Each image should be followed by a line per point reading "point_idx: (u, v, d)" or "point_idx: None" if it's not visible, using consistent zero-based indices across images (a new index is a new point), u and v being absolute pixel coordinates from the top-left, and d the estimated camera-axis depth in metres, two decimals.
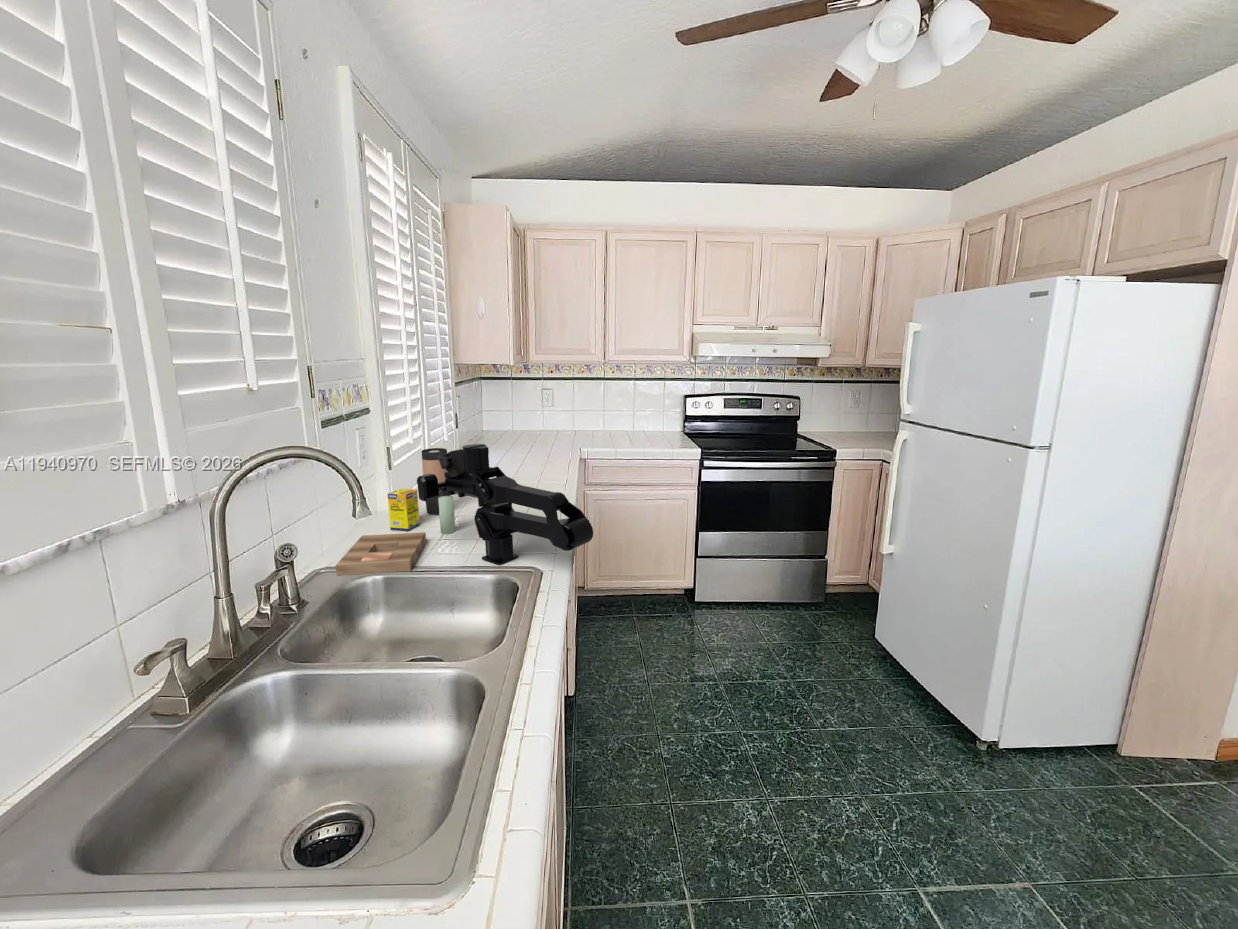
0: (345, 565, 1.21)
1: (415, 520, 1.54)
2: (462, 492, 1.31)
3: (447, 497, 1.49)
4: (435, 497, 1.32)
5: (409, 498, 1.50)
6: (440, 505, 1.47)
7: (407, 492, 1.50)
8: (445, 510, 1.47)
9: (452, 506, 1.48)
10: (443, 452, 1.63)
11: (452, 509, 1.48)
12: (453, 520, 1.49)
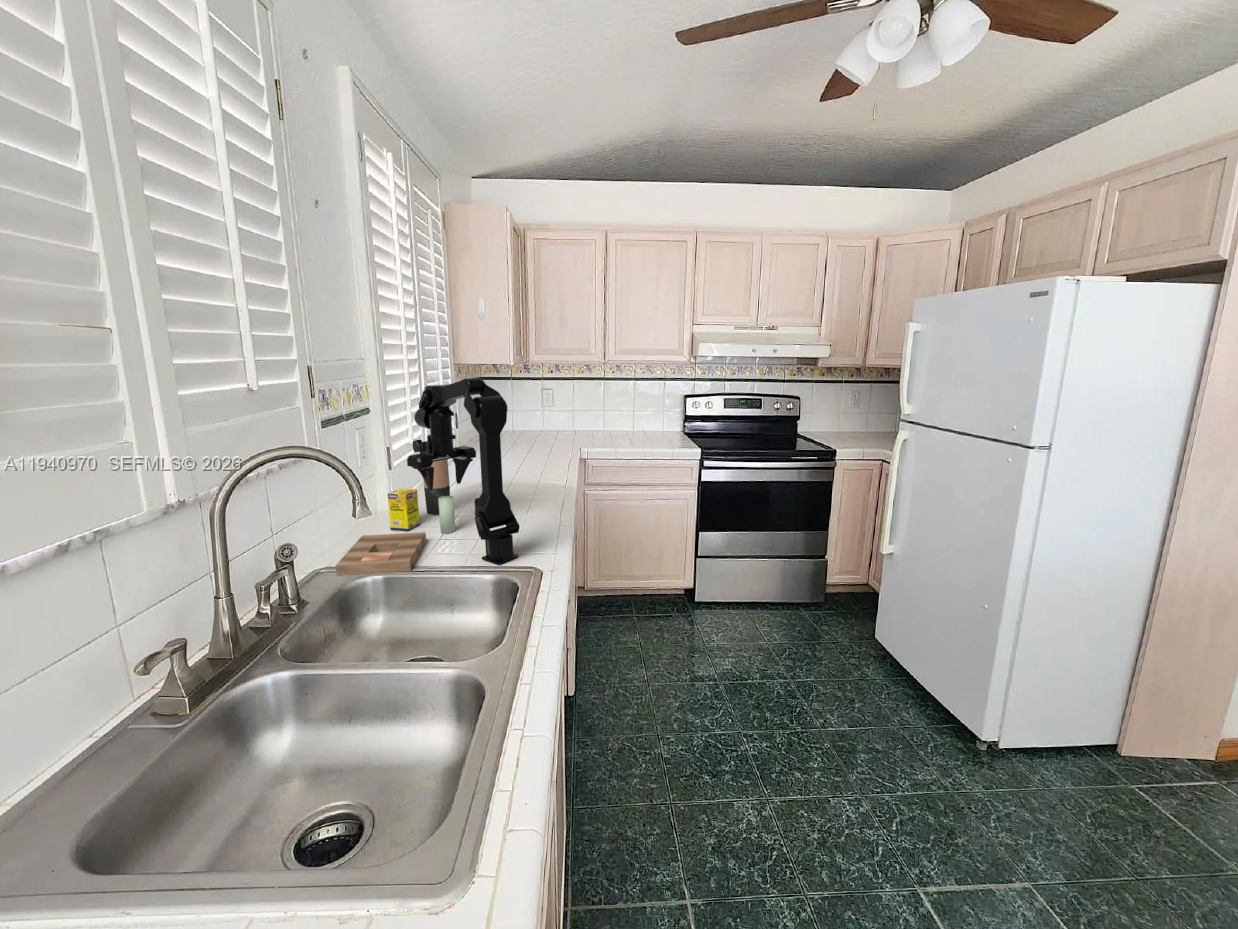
0: (345, 565, 1.21)
1: (415, 520, 1.54)
2: (436, 433, 1.41)
3: (447, 497, 1.49)
4: (428, 457, 1.39)
5: (409, 498, 1.50)
6: (440, 505, 1.47)
7: (407, 492, 1.50)
8: (445, 510, 1.47)
9: (452, 506, 1.48)
10: None
11: (452, 509, 1.48)
12: (453, 520, 1.49)
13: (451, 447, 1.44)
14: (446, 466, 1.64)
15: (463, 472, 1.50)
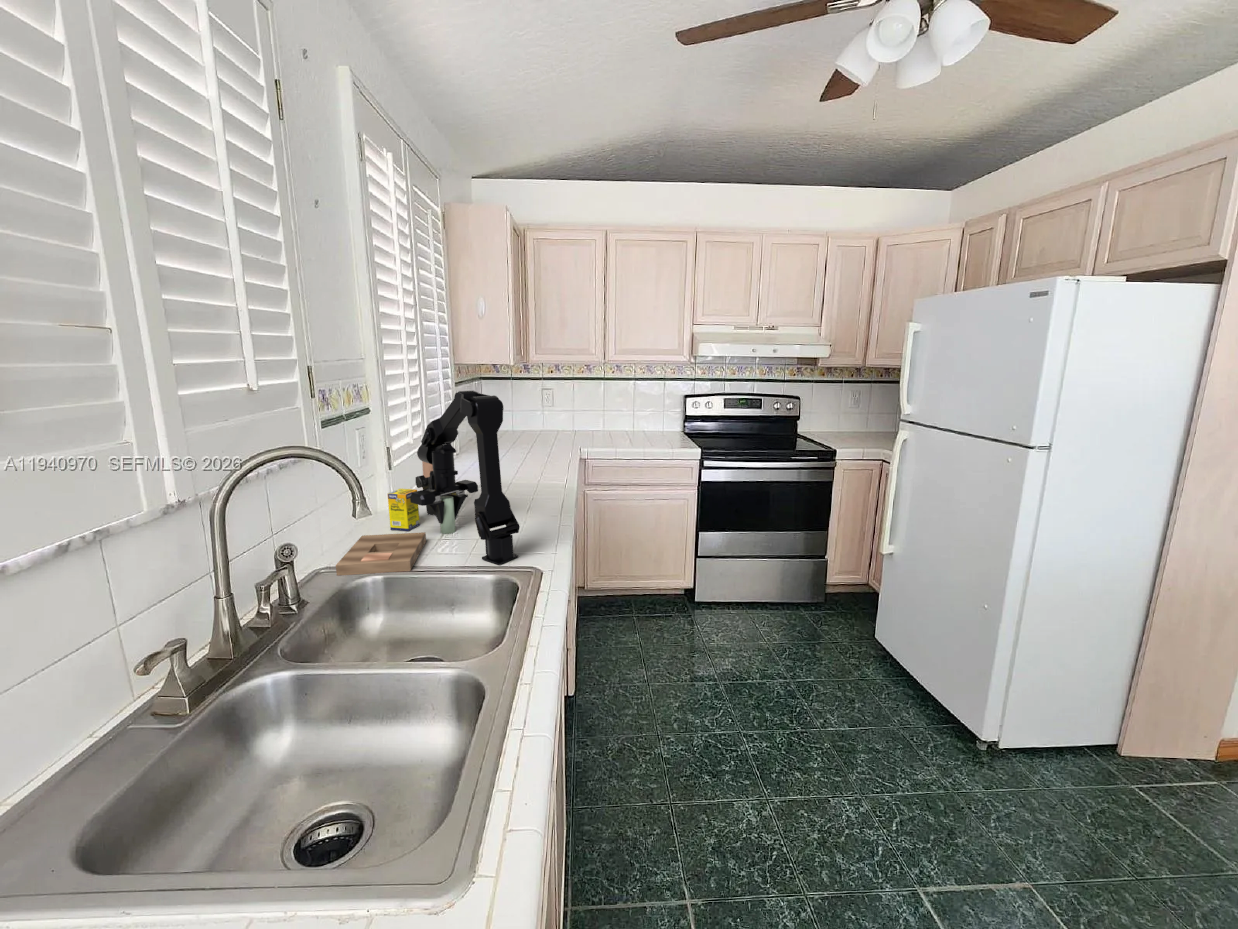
0: (345, 565, 1.21)
1: (415, 520, 1.54)
2: (439, 470, 1.44)
3: (447, 497, 1.49)
4: (431, 494, 1.41)
5: (409, 498, 1.50)
6: None
7: (407, 492, 1.50)
8: (445, 510, 1.47)
9: (452, 506, 1.48)
10: None
11: (452, 509, 1.48)
12: (453, 520, 1.49)
13: (453, 483, 1.47)
14: None
15: (458, 508, 1.50)
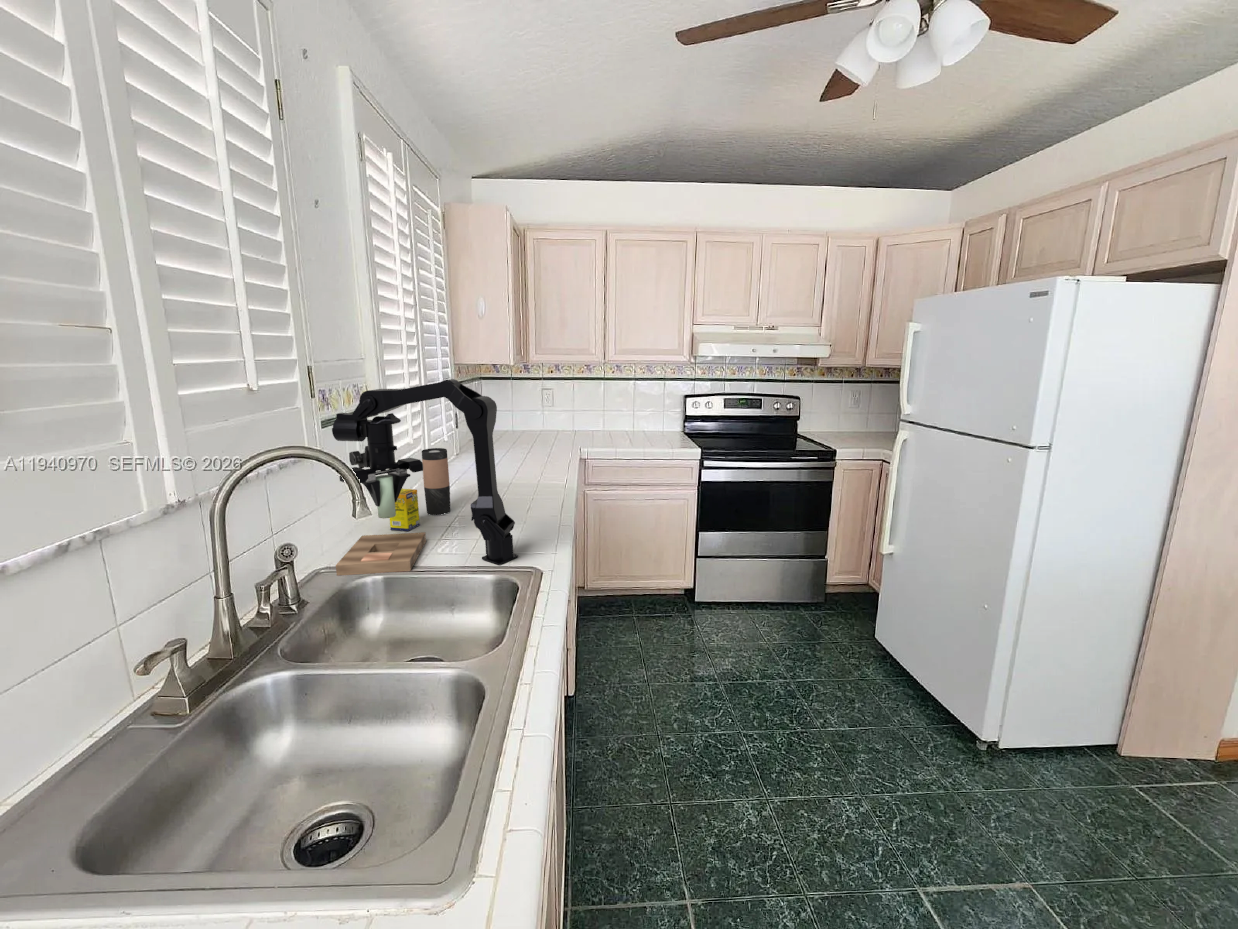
0: (345, 565, 1.21)
1: (415, 520, 1.54)
2: (374, 444, 1.25)
3: (386, 476, 1.30)
4: (363, 472, 1.22)
5: (409, 498, 1.50)
6: None
7: (407, 492, 1.50)
8: (382, 491, 1.28)
9: (391, 486, 1.29)
10: (443, 452, 1.63)
11: (391, 490, 1.30)
12: (392, 503, 1.30)
13: (392, 460, 1.28)
14: (446, 466, 1.64)
15: (399, 489, 1.31)
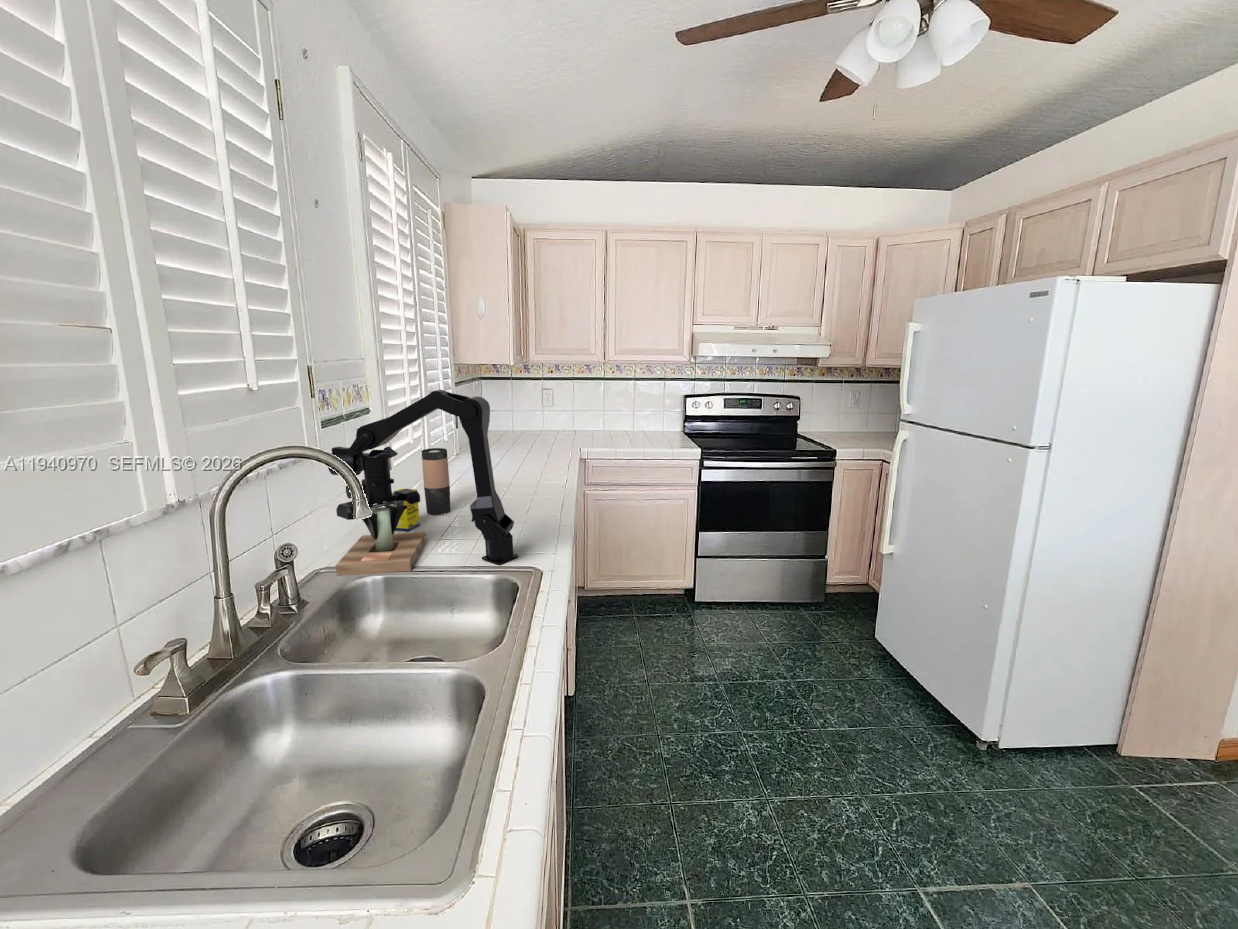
0: (345, 565, 1.21)
1: (415, 520, 1.54)
2: (371, 478, 1.25)
3: (383, 509, 1.30)
4: None
5: None
6: None
7: None
8: (379, 524, 1.28)
9: (388, 519, 1.29)
10: (443, 452, 1.63)
11: (388, 523, 1.30)
12: (389, 535, 1.30)
13: (389, 493, 1.28)
14: (446, 466, 1.64)
15: (396, 522, 1.31)
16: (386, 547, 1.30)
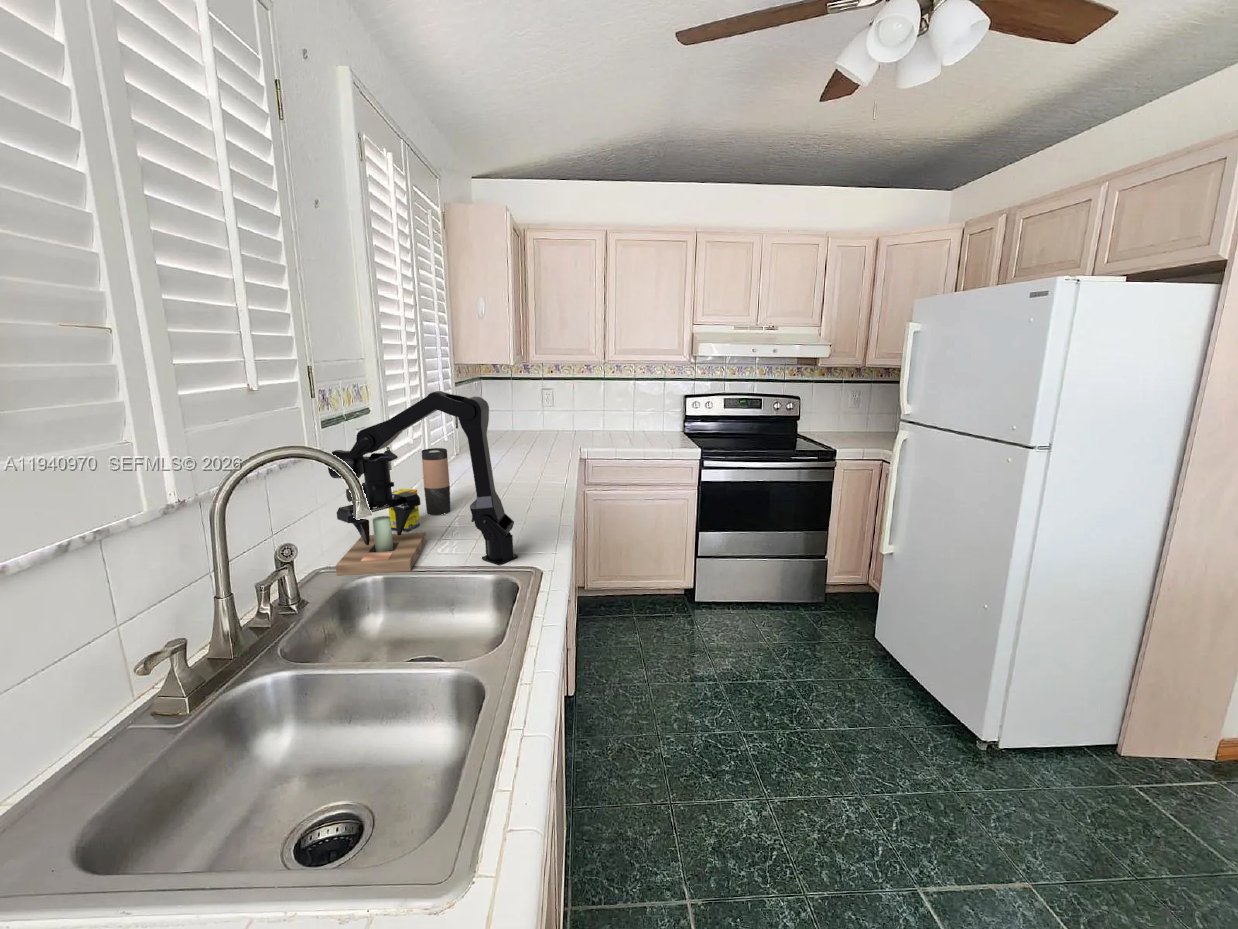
0: (345, 565, 1.21)
1: (415, 520, 1.54)
2: (371, 482, 1.25)
3: (383, 517, 1.30)
4: None
5: None
6: (374, 527, 1.29)
7: None
8: (380, 533, 1.29)
9: (389, 528, 1.30)
10: (443, 452, 1.63)
11: (389, 532, 1.30)
12: (390, 544, 1.31)
13: (389, 496, 1.28)
14: (446, 466, 1.64)
15: (404, 522, 1.33)
16: None
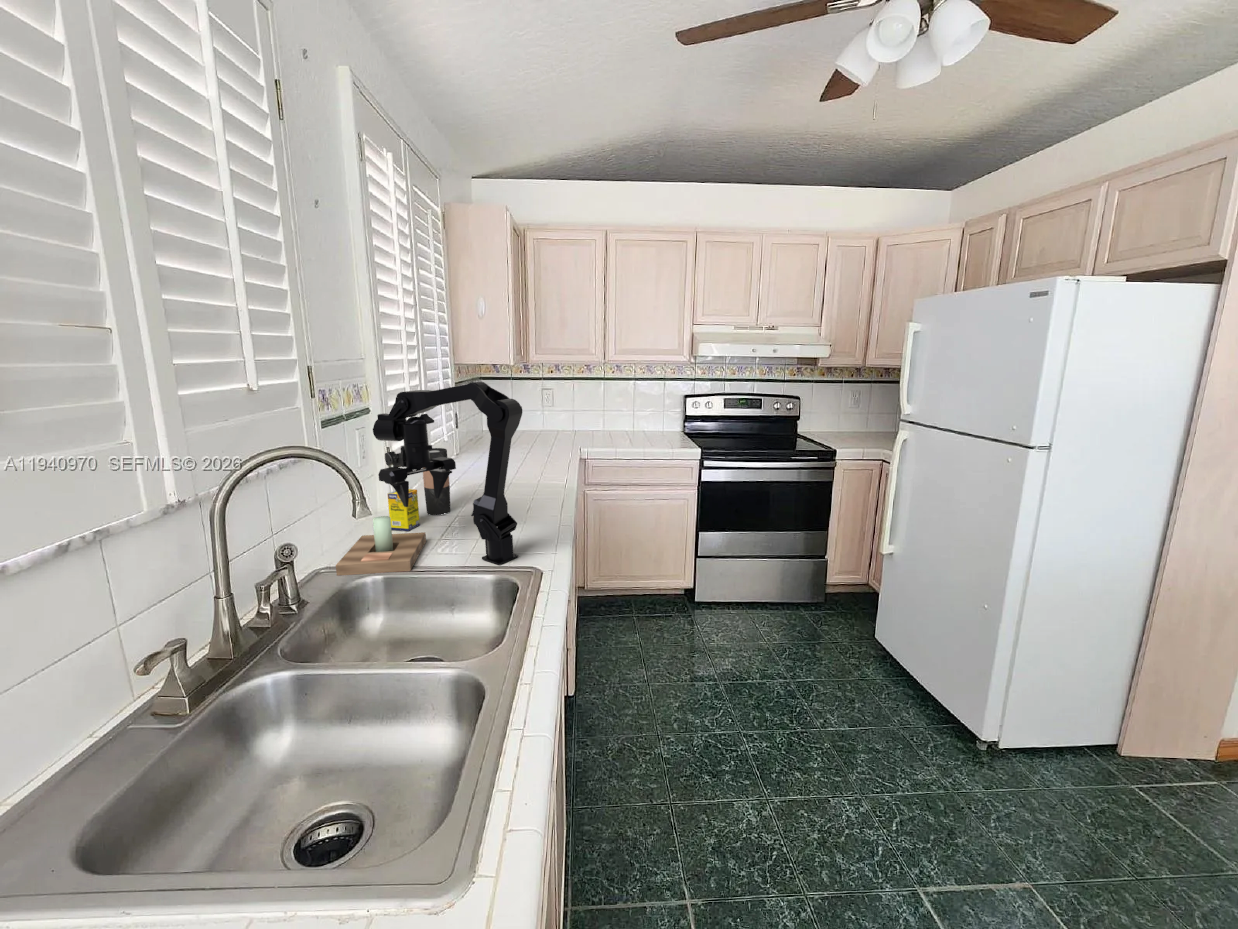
0: (345, 565, 1.21)
1: (415, 520, 1.54)
2: (411, 444, 1.29)
3: (384, 517, 1.30)
4: (402, 471, 1.26)
5: (409, 498, 1.50)
6: (374, 527, 1.29)
7: None
8: (380, 533, 1.29)
9: (389, 528, 1.30)
10: (443, 452, 1.63)
11: (389, 531, 1.30)
12: (390, 544, 1.31)
13: (427, 458, 1.32)
14: None
15: (442, 485, 1.37)
16: None
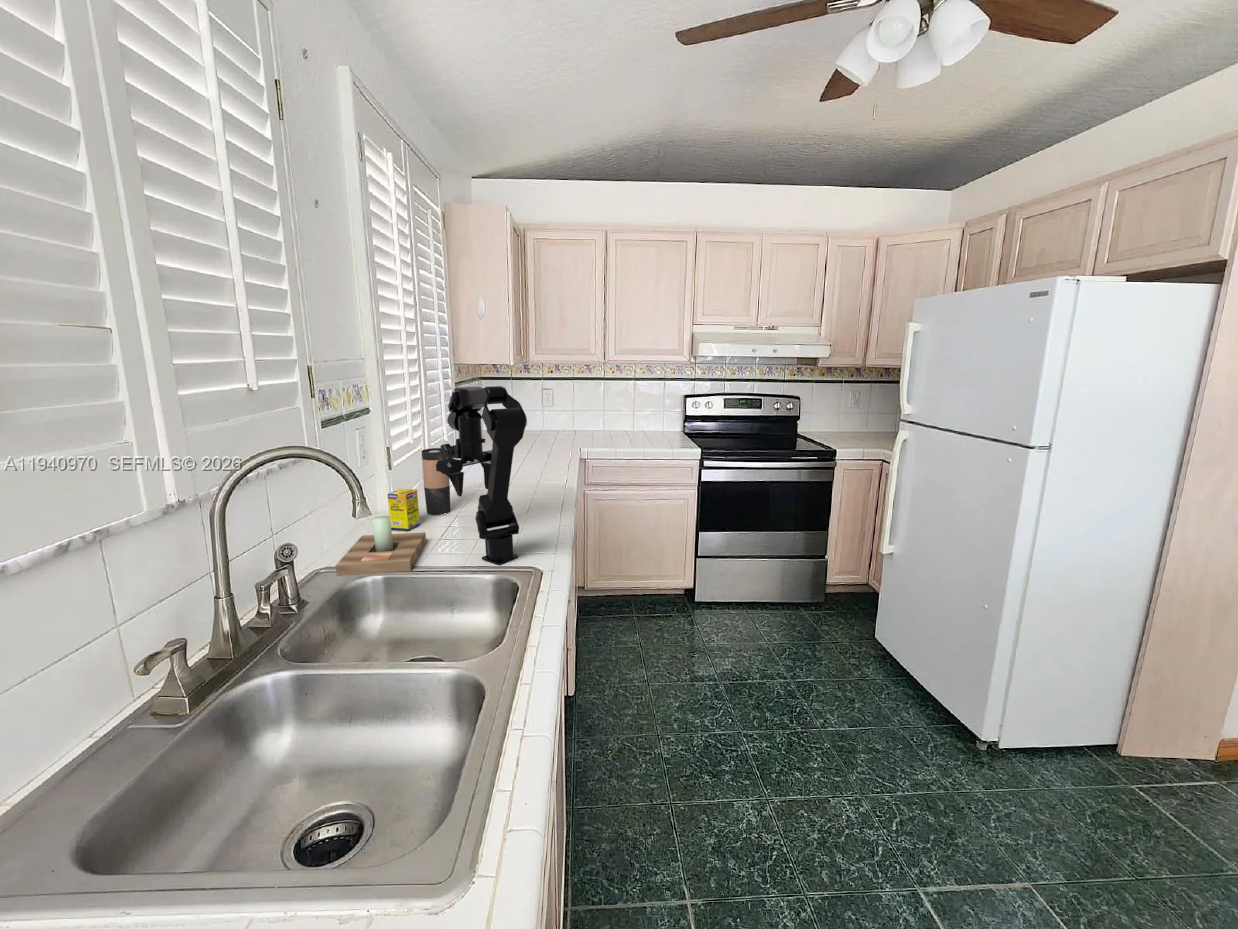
0: (345, 565, 1.21)
1: (415, 520, 1.54)
2: (466, 437, 1.36)
3: (383, 517, 1.30)
4: (458, 462, 1.34)
5: (409, 498, 1.50)
6: (374, 527, 1.29)
7: (407, 492, 1.50)
8: (380, 533, 1.29)
9: (388, 528, 1.30)
10: None
11: (388, 531, 1.30)
12: (390, 544, 1.31)
13: (481, 451, 1.39)
14: None
15: None
16: None
